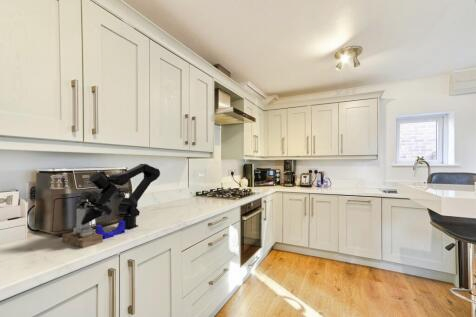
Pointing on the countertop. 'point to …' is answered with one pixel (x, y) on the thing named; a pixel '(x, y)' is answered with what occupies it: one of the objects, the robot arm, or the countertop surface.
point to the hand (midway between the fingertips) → (79, 223)
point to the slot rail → (82, 240)
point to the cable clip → (119, 230)
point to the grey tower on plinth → (81, 229)
